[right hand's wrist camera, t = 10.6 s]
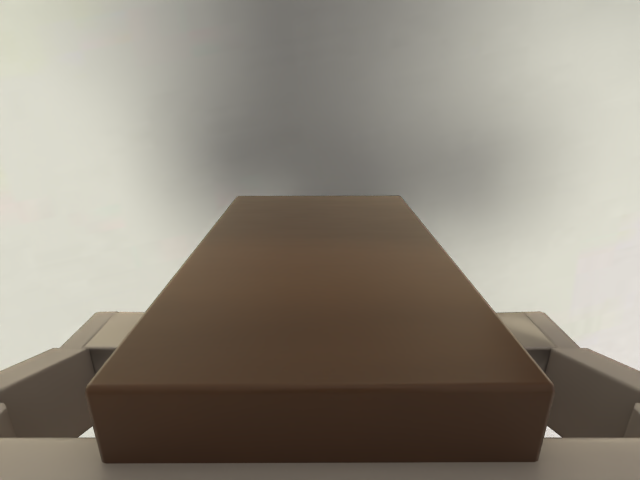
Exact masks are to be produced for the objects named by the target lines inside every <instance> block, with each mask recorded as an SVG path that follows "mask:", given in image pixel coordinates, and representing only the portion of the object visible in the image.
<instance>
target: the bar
mask: <svg viewBox="0 0 640 480" xmlns="http://www.w3.org/2000/svg"><path fill="white" fill-rule="evenodd" d="M554 394H555V387H554V384H553V383H552V381H551V380H550V379H549V378H548V377H547V375H546V374H545V373H544V372H543V370H542V369H541V368H540V367H539V365H538V364H537V363H536V362H535V361H534V359H533V358H532V357H531V356H530V354H529V353H528V352H527V351H526V350H525V348H524V347H523V346H522V345H521V343H520V342H519V341H518V340H517V338H516V337H515V336H514V335H513V334H512V332H511V331H510V330H509V329H508V327H507V326H506V325H505V324H504V323H503V321H502V320H501V319H500V318H499V316H498V315H497V314H496V313H495V311H494V310H493V309H492V308H491V307H490V305H489V304H488V303H487V302H486V300H485V299H484V298H483V297H482V296H481V294H480V293H479V292H478V291H477V289H476V288H475V287H474V286H473V284H472V283H471V282H470V281H469V280H468V278H467V277H466V276H465V275H464V273H463V272H462V271H461V270H460V269H459V267H458V266H457V265H456V264H455V262H454V261H453V260H452V259H451V258H450V256H449V255H448V254H447V253H446V251H445V250H444V249H443V248H442V246H441V245H440V244H439V243H438V242H437V240H436V239H435V238H434V237H433V235H432V234H431V233H430V232H429V231H428V229H427V228H426V227H425V226H424V224H423V223H422V222H421V221H420V219H419V218H418V217H417V216H416V215H415V213H414V212H413V211H412V210H411V208H410V207H409V206H408V205H407V204H406V202H405V201H404V200H403V199H402V197H401V196H238V197H236V199H235V200H234V201H233V202H232V204H231V205H230V206H229V207H228V209H227V210H226V211H225V212H224V214H223V215H222V216H221V217H220V219H219V220H218V221H217V222H216V224H215V225H214V226H213V227H212V229H211V230H210V231H209V233H208V234H207V235H206V236H205V238H204V239H203V240H202V241H201V243H200V244H199V245H198V246H197V248H196V249H195V250H194V251H193V253H192V254H191V255H190V256H189V258H188V259H187V260H186V261H185V263H184V264H183V265H182V266H181V268H180V269H179V270H178V271H177V273H176V274H175V275H174V276H173V278H172V279H171V280H170V282H169V283H168V284H167V285H166V287H165V288H164V289H163V290H162V292H161V293H160V294H159V295H158V297H157V298H156V299H155V300H154V302H153V303H152V304H151V305H150V307H149V308H148V309H147V310H146V312H145V313H144V314H143V315H142V317H141V318H140V319H139V320H138V322H137V323H136V324H135V326H134V327H133V328H132V329H131V331H130V332H129V333H128V334H127V336H126V337H125V338H124V339H123V341H122V342H121V343H120V344H119V346H118V347H117V348H116V349H115V351H114V352H113V353H112V354H111V356H110V357H109V358H108V359H107V361H106V362H105V363H104V364H103V366H102V367H101V368H100V369H99V371H98V372H97V373H96V375H95V376H94V377H93V378H92V380H91V381H90V382H89V383H88V385H87V386H86V389H85V397H86V401H87V405H88V409H89V413H90V417H91V421H92V425H93V429H94V433H95V437H96V441H97V445H98V449H99V453H100V457H101V461H102V462H103V463H106V464H128V463H419V462H536V461H538V459H539V455H540V451H541V447H542V443H543V439H544V435H545V431H546V427H547V423H548V419H549V415H550V411H551V407H552V403H553V398H554Z"/></svg>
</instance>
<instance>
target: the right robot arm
mask: <svg viewBox="0 0 640 480" xmlns="http://www.w3.org/2000/svg"><path fill="white" fill-rule="evenodd" d="M144 313H145V312H97V313H95V314H94V315H93V316H92V317H91V318H90V319H89V320H88V321H87V322H86V323H85V324H84V325H83V326H82V327H81V328H80V329H79V330H78V331H77V332H76V333H74V334H73V335H72V336H71V337H70V338H69V339H68V340H67V341H66V342H65V343H64V344H63V345H62V346H61V347H60V348H52V349H50V350H48V351H45V352H43V353H41V354H39V355H36V356H34V357H32V358H29V359H27V360H25V361H22V362H20V363H18V364H16V365H13V366H11V367H9V368H6V369H4V370H2V371H0V480H640V371H638V370H636V369H633V368H631V367H629V366H627V365H624V364H622V363H620V362H617V361H615V360H613V359H611V358H608V357H606V356H604V355H601V354H599V353H597V352H595V351H592V350H590V349H588V348H580V347H579V346H578V345H577V344H576V343H575V342H574V341H573V340H572V339H571V338H570V337H569V336H568V335H567V334H566V333H565V332H564V331H563V330H561V329H560V328H559V327H558V326H557V325H556V324H555V323H554V322H553V321H552V320H551V319H550V318H549V317H548V316H547V315H546V314H545V313H543V312H540V311H538V312H505V313H496V314H497V315H498V316H499V318H500V319H501V320H502V321H503V323H504V324H505V325H506V326H507V327H508V329H509V330H510V331H511V332H512V334H513V335H514V336H515V337H516V338H517V340H518V341H519V342H520V343H521V345H522V346H523V347H524V348H525V350H526V351H527V352H528V353H529V354H530V356H531V357H532V358H533V359H534V361H535V362H536V363H537V364H538V365H539V367H540V368H541V369H542V370H543V372H544V373H545V374H546V375H547V377H548V378H549V379H550V380H551V381H552V383H553V384H554V387H555V394H554V398H553V403H552V407H551V411H550V415H549V419H548V423H547V426H548V427H550V428H551V429H552V430H553V431H555V432H556V433H557V434H559V435H560V436H561V437H562V438H544V439H543V443H542V447H541V451H540V455H539V459H538V461H536V462H419V463H128V464H106V463H103V462H102V461H101V457H100V453H99V449H98V445H97V441H96V438H78V437H79V436H80V435H82V434H83V433H84V432H85V431H87V430H88V429H89V428H91V427H92V426H93V425H92V421H91V417H90V413H89V409H88V405H87V401H86V397H85V389H86V386H87V385H88V383H89V382H90V381H91V380H92V378H93V377H94V376H95V375H96V373H97V372H98V371H99V369H100V368H101V367H102V366H103V364H104V363H105V362H106V361H107V359H108V358H109V357H110V356H111V354H112V353H113V352H114V351H115V349H116V348H117V347H118V346H119V344H120V343H121V342H122V341H123V339H124V338H125V337H126V336H127V334H128V333H129V332H130V331H131V329H132V328H133V327H134V326H135V324H136V323H137V322H138V320H139V319H140V318H141V317H142V315H143V314H144Z"/></svg>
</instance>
